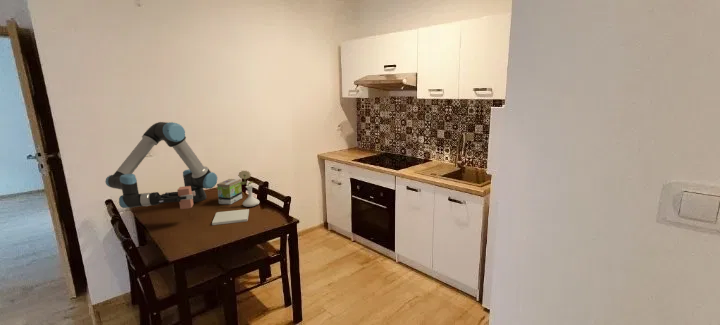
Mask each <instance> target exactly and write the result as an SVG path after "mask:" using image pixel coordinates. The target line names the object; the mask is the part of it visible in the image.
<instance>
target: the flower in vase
mask: <svg viewBox="0 0 720 325" xmlns="http://www.w3.org/2000/svg"><path fill="white" fill-rule="evenodd" d="M238 177H239V179H241V180H242V179H243V180H247V179H250V178H251V172H250V171H249V170H241V171H240V172H239V173H238ZM253 182H254V181H253V180H252V181H250V182H248V183H247V182H246V181H241V183H240V184H241V185H243V186H244V185H246V186H245V188H246V189H247V193H248V197H246V199H245V200H243V202H242V205H243V207H246V208H247V207H249V208H251V207H255V206H257V205H259V204H260V200H259V199H258V198H256V197H254V196H253V187H254V185H252V183H253Z"/></svg>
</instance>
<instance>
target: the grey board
mask: <svg viewBox="0 0 720 325" xmlns="http://www.w3.org/2000/svg"><path fill="white" fill-rule="evenodd" d="M249 214H250V209H249V208H248V209H247V208H246V209H238V210H237V209H236V210H235V209H234V210H227V211H217V212H215V215H214V217H213V220H212V221H211V222H212V223H211V225H212V226H218V225H227V224H228V225H229V224H237V223H244V222H248V220H249Z"/></svg>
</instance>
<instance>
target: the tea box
mask: <svg viewBox="0 0 720 325" xmlns="http://www.w3.org/2000/svg"><path fill="white" fill-rule="evenodd" d="M241 182H242V179H241V178H239V179H237V178H228V179H226V180H224V181H221V182H219V183H216V186H217V197H218V204H219V205H233V204H234V203H236V202H238V201H239V200H241V199H243V190H242V188H243V187H242V184H240V183H241Z"/></svg>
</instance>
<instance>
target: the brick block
mask: <svg viewBox="0 0 720 325" xmlns="http://www.w3.org/2000/svg"><path fill="white" fill-rule="evenodd" d="M176 192H178V196H180V195H191V194H192V191H191V186H185V185H184V186H179V188H178V189H177V191H176ZM180 201H181V202H179V201H178V203H179V209H180V210H184V209H191V208H193V206H194V202H193V199H188V200H180Z"/></svg>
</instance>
